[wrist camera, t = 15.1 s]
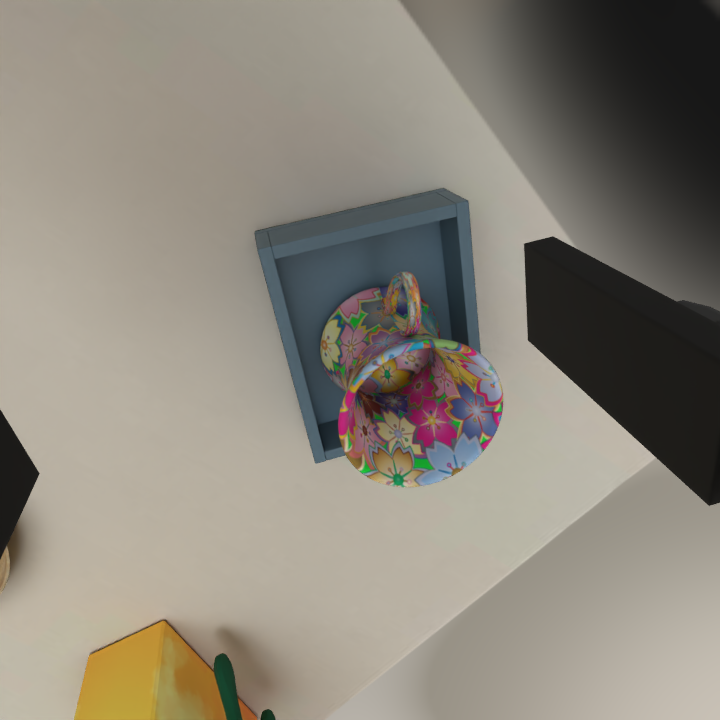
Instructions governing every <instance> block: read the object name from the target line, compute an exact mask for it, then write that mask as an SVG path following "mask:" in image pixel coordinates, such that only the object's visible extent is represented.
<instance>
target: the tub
mask: <svg viewBox="0 0 720 720" xmlns="http://www.w3.org/2000/svg"><path fill="white" fill-rule="evenodd" d="M255 238H256V244H257V250H258V254H259V257H260V261H261V265H262V268H263V272H264V276H265V280H266V283H267V287H268V291H269V294H270V298H271V302H272V305H273V309H274V313H275V316H276V320H277V324H278V328H279V331H280V335H281V339H282V342H283V346H284V350H285V353H286V357H287V361H288V365H289V368H290V372H291V376H292V379H293V383H294V387H295V390H296V394H297V398H298V401H299V405H300V409H301V413H302V416H303V420H304V424H305V427H306V431H307V435H308V438H309V442H310V446H311V450H312V453H313V457H314V461H315V463H320V462H324V461H326V460H330V459H334V458H337V457H341V456H345V455H346V454H345V452H344V450H343V448H342V445H341V442H340V438H339V431H338V420H339V413H340V408H341V405H342V401H343V399H344V396H345V394H346V392H345V391H343V390H342V389H340V388H339V387H338V386H337V385H336V384H334V383H333V381H332V380H331V379H330V378H329V376H328V375H327V373H326V371H325V369H324V367H323V364H322V360H321V353H320V345H321V338H322V334H323V330H324V328H325V325H326V323H327V321H328V320H329V318H330V316H331V315H332V314H333V312H334V311H335V310H336V309H337V308H338V307H339V306H340V305H341V304H342V303H343V302H344V301H346V300H347V299H348V298H350V297H351V296H353V295H355V294H357V293H359V292H361V291H364V290H367V289H370V288H375V287H389V285H390V282H391V280H392V278H393V277H394V276H395V275H396V274H397V273H399V272H410V273H412V274H413V275H414V276H415V278H416V280H417V283H418V287H419V291H420V297H421V298H422V299H423V300H424V301H425V302H426V303H427V304H428V305H429V306H430V307H431V309H432V310H433V312H434V314H435V316H436V318H437V321H438V325H439V330H440V339H444V340H450V341H455V342H458V343H461V344H464V345H466V346H469V347H471V348H472V349H474V350H476V351H477V352H479V353H480V340H479V328H478V315H477V303H476V290H475V278H474V265H473V253H472V240H471V228H470V215H469V203H468V200H466V199H464V198H462V197H460V196H458V195H456V194H454V193H452V192H450V191H449V190H446V189H444V188H442V189H437V190H433V191H429V192H424V193H420V194H416V195H411V196H407V197H402V198H398V199H394V200H389V201H385V202H381V203H376V204H372V205H368V206H363V207H359V208H354V209H350V210H346V211H341V212H337V213H333V214H328V215H324V216H319V217H315V218H311V219H306V220H302V221H298V222H293V223H289V224H284V225H280V226H276V227H271V228H267V229H263V230H258V231H255ZM401 289H405V288H404V285H403V284H402V286H401ZM480 354H481V353H480Z"/></svg>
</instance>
